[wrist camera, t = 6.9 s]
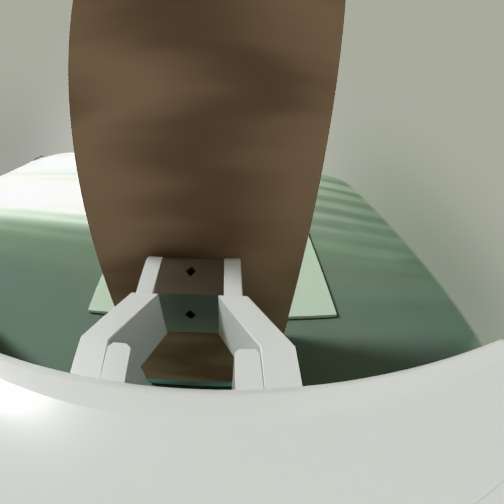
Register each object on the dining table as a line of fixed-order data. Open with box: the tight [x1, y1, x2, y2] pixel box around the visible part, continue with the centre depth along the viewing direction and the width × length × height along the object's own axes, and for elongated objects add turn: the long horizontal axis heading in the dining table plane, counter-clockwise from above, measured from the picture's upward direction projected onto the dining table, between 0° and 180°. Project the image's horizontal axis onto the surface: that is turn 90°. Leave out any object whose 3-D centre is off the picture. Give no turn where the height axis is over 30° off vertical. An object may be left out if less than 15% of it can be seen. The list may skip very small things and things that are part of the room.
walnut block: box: [68, 0, 345, 386], centre depth 11 cm, size 7×4×18 cm, turn 94°
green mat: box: [88, 236, 337, 319], centre depth 26 cm, size 18×20×1 cm
